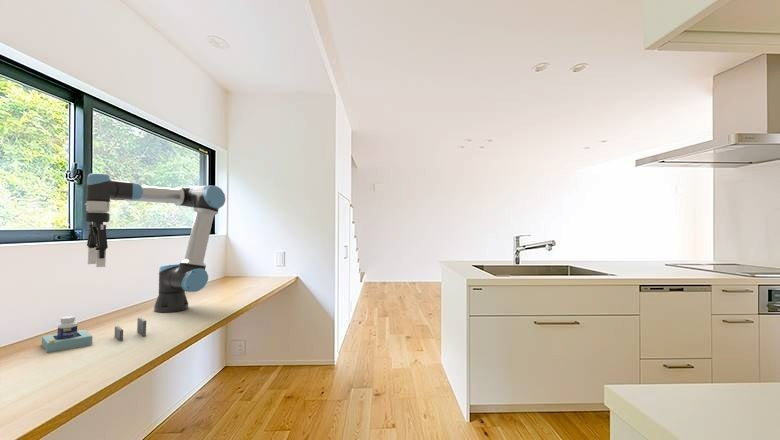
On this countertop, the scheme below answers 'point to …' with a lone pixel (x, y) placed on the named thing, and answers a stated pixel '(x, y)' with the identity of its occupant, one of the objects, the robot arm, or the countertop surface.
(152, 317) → the countertop surface
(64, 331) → the pill bottle
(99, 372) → the countertop surface
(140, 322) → the gray upright plates
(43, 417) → the countertop surface
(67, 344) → the frame
